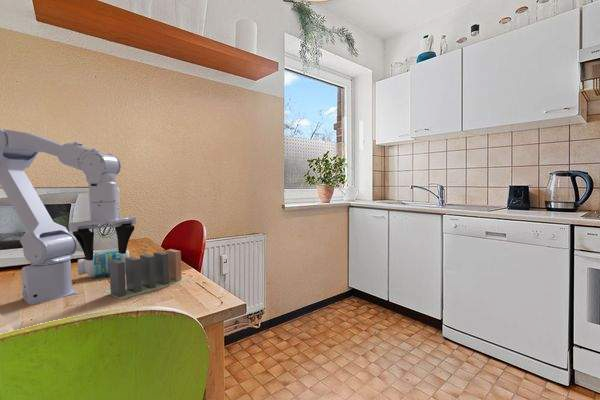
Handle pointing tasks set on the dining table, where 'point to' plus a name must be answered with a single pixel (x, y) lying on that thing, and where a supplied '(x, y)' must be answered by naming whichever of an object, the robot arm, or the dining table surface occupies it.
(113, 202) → the robot arm
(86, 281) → the dining table surface
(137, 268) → the domino
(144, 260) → the domino
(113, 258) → the pill bottle
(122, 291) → the domino
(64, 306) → the dining table surface
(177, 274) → the domino
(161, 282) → the domino
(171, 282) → the mat
